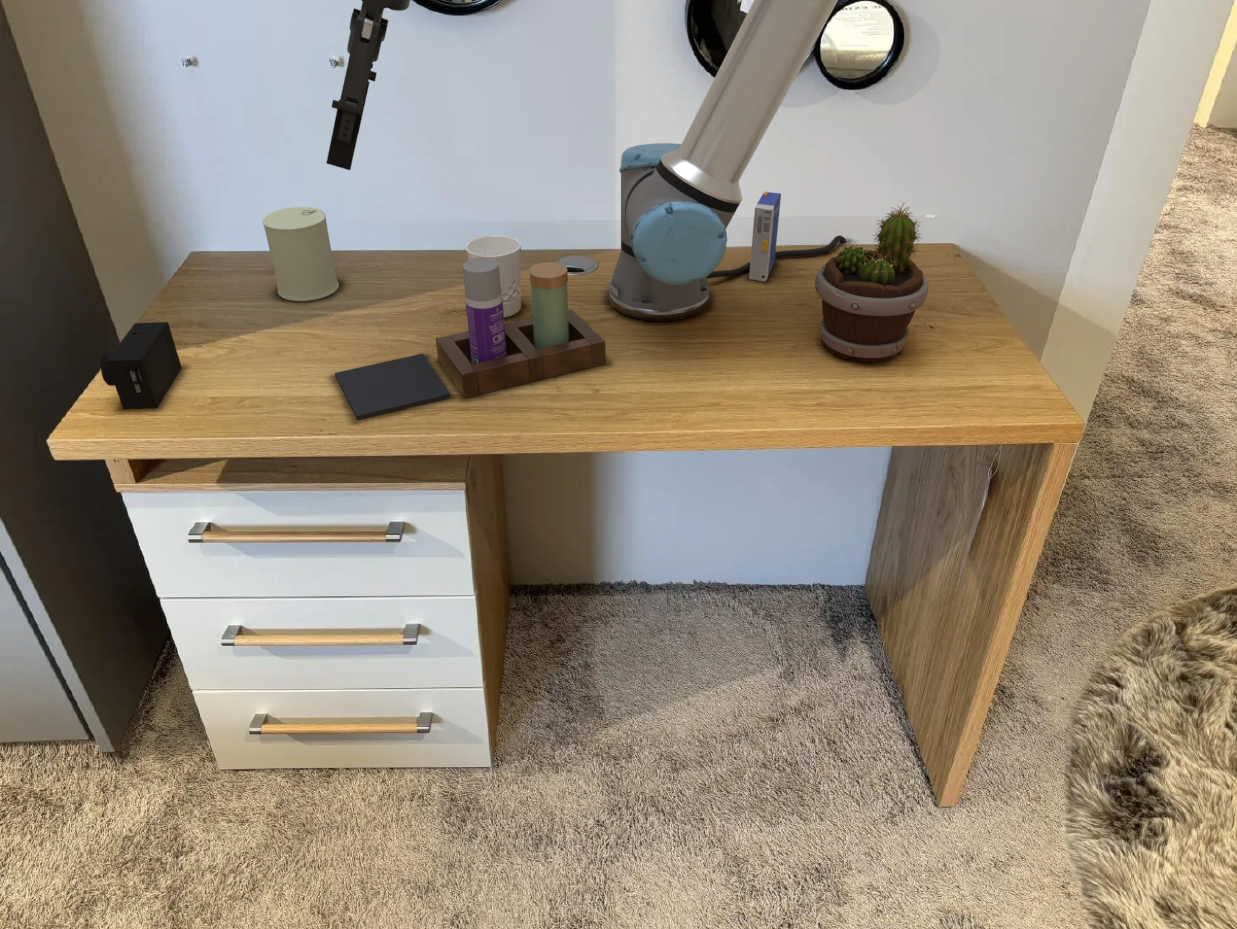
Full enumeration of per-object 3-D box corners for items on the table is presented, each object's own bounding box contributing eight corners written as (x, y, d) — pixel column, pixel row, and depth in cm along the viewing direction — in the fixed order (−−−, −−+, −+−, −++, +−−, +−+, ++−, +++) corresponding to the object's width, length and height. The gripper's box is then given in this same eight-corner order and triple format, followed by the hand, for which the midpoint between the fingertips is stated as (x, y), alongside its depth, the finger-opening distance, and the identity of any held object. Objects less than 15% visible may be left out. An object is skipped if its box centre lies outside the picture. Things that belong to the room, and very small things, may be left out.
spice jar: (561, 344, 134) (558, 259, 127) (576, 359, 130) (573, 273, 123) (528, 351, 132) (523, 266, 125) (542, 367, 129) (537, 280, 121)
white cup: (534, 303, 145) (530, 240, 139) (507, 324, 139) (502, 259, 133) (489, 294, 148) (484, 231, 142) (461, 314, 142) (455, 250, 136)
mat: (423, 357, 131) (422, 353, 131) (450, 397, 122) (450, 393, 122) (335, 376, 127) (334, 372, 126) (357, 420, 118) (356, 416, 118)
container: (501, 380, 126) (493, 273, 117) (467, 376, 127) (456, 270, 118) (512, 363, 130) (504, 258, 121) (479, 360, 130) (468, 256, 122)
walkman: (757, 260, 158) (764, 189, 151) (774, 262, 157) (781, 191, 150) (748, 279, 152) (754, 205, 145) (765, 281, 151) (772, 207, 144)
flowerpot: (852, 383, 125) (875, 236, 113) (786, 334, 136) (802, 196, 125) (939, 360, 130) (970, 217, 119) (869, 314, 141) (891, 180, 130)
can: (351, 284, 150) (338, 210, 144) (306, 306, 144) (291, 230, 137) (310, 272, 155) (295, 199, 148) (265, 292, 148) (247, 217, 141)
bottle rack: (572, 330, 137) (571, 308, 135) (605, 364, 129) (605, 341, 127) (438, 361, 130) (435, 338, 128) (464, 398, 122) (461, 374, 120)
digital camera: (140, 369, 129) (125, 322, 125) (182, 367, 129) (167, 320, 125) (113, 409, 120) (95, 360, 116) (157, 408, 120) (141, 359, 116)
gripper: (355, -68, 114) (321, 107, 125) (337, -32, 94) (299, 172, 105) (418, -44, 116) (379, 125, 127) (413, -4, 96) (368, 192, 107)
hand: (343, 147), depth 116 cm, fingers open, 13 cm apart
